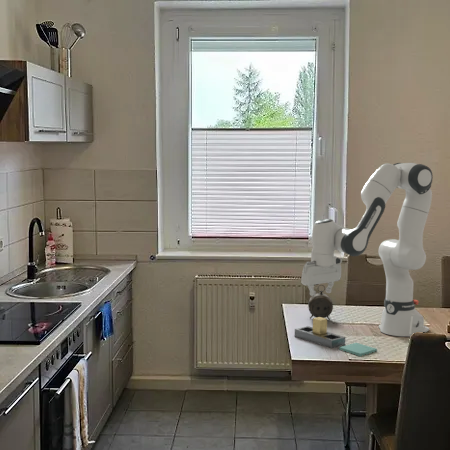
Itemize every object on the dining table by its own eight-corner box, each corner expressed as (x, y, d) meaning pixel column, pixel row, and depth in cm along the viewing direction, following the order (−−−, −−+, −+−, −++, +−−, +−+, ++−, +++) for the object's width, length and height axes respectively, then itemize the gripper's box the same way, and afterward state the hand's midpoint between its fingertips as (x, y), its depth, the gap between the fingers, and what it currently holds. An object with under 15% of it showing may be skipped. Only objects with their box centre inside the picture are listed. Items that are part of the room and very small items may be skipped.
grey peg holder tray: (307, 333, 270) (308, 326, 270) (345, 344, 255) (345, 337, 254) (294, 336, 265) (294, 329, 264) (331, 348, 250) (332, 340, 249)
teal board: (356, 345, 254) (356, 342, 254) (376, 351, 247) (376, 348, 247) (339, 349, 248) (339, 347, 248) (360, 356, 240) (360, 353, 240)
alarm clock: (331, 319, 293) (333, 284, 291) (332, 322, 288) (334, 286, 286) (307, 318, 294) (308, 283, 292) (308, 321, 289) (309, 285, 287)
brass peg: (318, 338, 263) (319, 316, 261) (326, 340, 260) (327, 318, 258) (312, 340, 260) (313, 318, 259) (319, 342, 257) (320, 320, 256)
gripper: (310, 263, 247) (308, 298, 248) (344, 258, 260) (343, 292, 261) (298, 261, 252) (296, 295, 253) (332, 256, 265) (331, 289, 266)
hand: (320, 294), depth 257 cm, fingers open, 8 cm apart
